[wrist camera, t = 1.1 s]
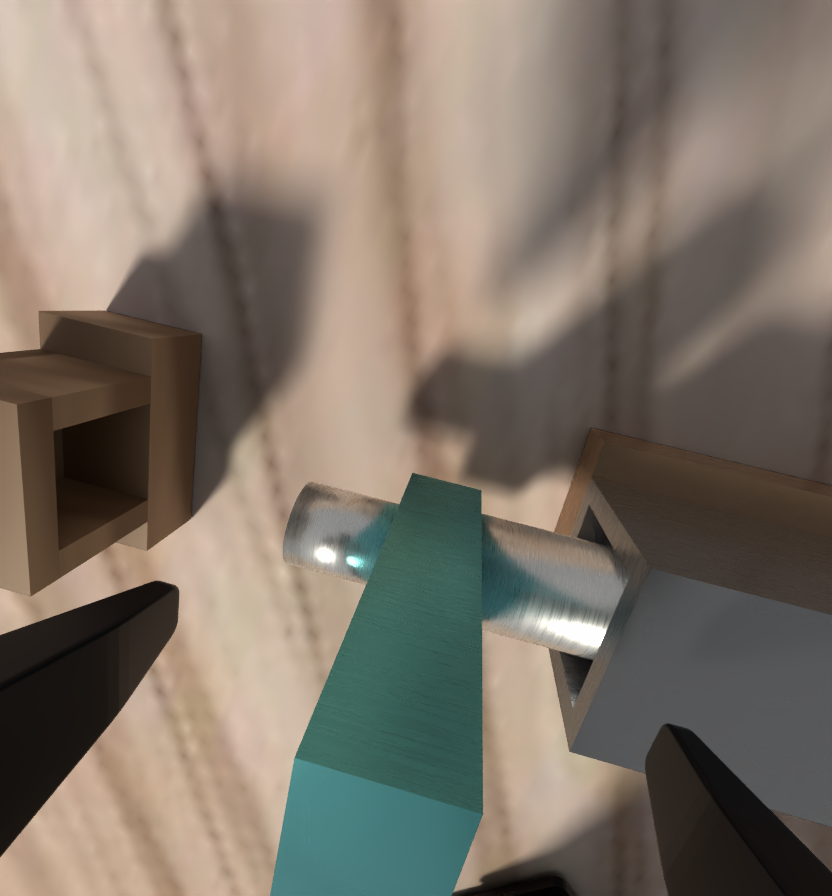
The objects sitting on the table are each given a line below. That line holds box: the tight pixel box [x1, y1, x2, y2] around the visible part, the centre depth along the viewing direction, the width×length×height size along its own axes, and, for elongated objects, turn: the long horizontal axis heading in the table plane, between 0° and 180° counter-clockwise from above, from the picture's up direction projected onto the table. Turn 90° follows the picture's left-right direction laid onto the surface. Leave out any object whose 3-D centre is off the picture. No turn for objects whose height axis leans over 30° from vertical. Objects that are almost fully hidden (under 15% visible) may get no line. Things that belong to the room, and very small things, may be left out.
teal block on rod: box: [270, 473, 629, 896], centre depth 9 cm, size 18×3×9 cm, turn 78°
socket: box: [0, 311, 202, 597], centre depth 13 cm, size 4×7×6 cm, turn 168°
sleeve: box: [549, 428, 832, 827], centre depth 12 cm, size 12×7×6 cm, turn 78°
